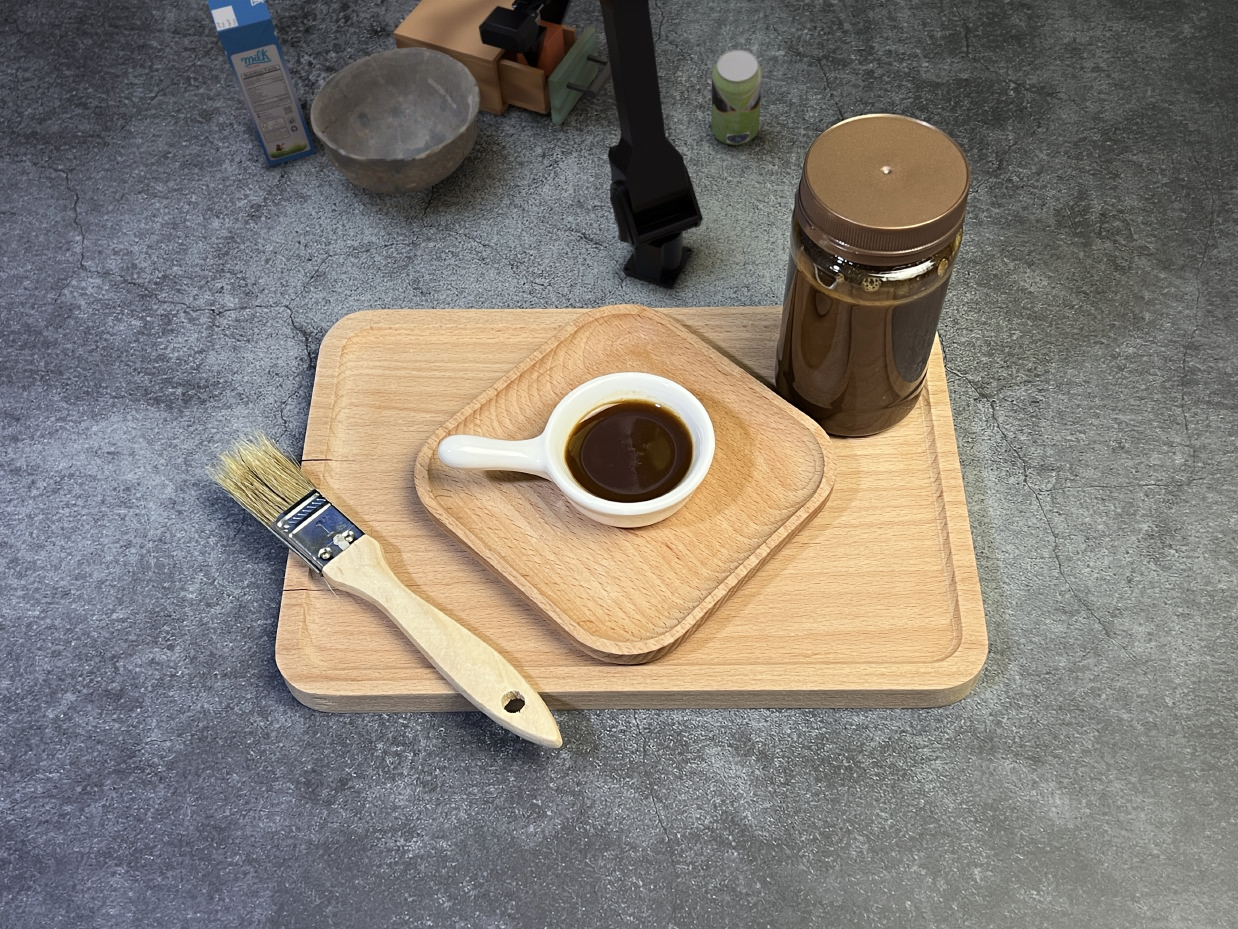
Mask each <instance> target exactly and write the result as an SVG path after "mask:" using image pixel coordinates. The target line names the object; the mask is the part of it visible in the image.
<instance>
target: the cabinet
mask: <svg viewBox="0 0 1238 929" xmlns="http://www.w3.org/2000/svg"><path fill="white" fill-rule="evenodd" d="M514 1H515V0H421V1H419V3H418V4H417V5H416V6H415V7H414V9H413V10H412V11H411V12H410V13H409V14H408V15H407V16H406V18H405V19H404V20H403V21H402V22H401V23H400V24H399V25H398V27H397V28H396V29H395V30H394V31H393V36H394V42H395V46H396V49H400V48H415V47H417V48H427V49H430V50H434V51H438V52H441V53H444V54H447V55H449V56H450V57H452V58H453V59H455V60H457V61H459V62H460V63H462V64H463V65H464V66H466V67H467V68H468V70H469V71H470V73H471V74H472V75H473V76H474V78H475V79H476V81H477V83H478V88H479V90H480V96H481V103H480V109H479V111H484V112H488V113H491V114H494V115H498V116H502V114H503V113H504V112H505V111H506V109H507V108H508V107H509V106H510V104H509V103H506V102H502V100H501V93H500V86H499V79H498V72H497V65H496V62H497V60H498V59H499V58H500V57H501V55H502V54H503V53H504V52H505V50H504V49H500V48H496V47H493V46H489V45H486V44H482V42H481V39H480V32H479V25H480V24H481V23H482V22H483V21H484V20H485V18H486V17H487V16H488V15H489V14H490V12H491V11H492V10H493V9H494V8H496V7H497V6H501V7H504V8H508V9H512V10H514V8H512V6H511V5H512V3H513V2H514ZM538 14H539V12H538ZM539 15H540V14H539ZM539 18H540V16H539Z"/></svg>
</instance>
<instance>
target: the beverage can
mask: <svg viewBox="0 0 1238 929" xmlns="http://www.w3.org/2000/svg"><path fill="white" fill-rule="evenodd" d="M762 82H763V70H762V67H761V65H760V62H758V59H757V58H756V56H755V55H754V54H753V53H752V52H750V51H747V50H744V49H733V50H728V51H726V52H725V53H723V54H721V56H719V58H718V59H717V61H716V63H715V65H714V66H713V69H712V72H711V131H712V133H713V135H714V137H715V138H716V139H717V140H718V141H720V142H721V143H724V144H727V145H732V146H733V145H734V146H736V145H738V146H739V145H742V144H746V143H748V142H750V141H751V140H753V139H754V137H755V136H757V133H758V131H759V129H760V128H759V127H760V113H761V98H762V86H763V84H762Z"/></svg>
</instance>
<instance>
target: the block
mask: <svg viewBox="0 0 1238 929" xmlns="http://www.w3.org/2000/svg"><path fill="white" fill-rule="evenodd" d="M538 22H539V25H542V26H545V27H547V32H546V36H545V40H544V44H543V48H542V52H541V56H540V60H539V63H538V66H537V67H536V69H540V70H543V71H544V75H548V76H550V74H551V73H552V72H553V70H554V69H555V68H556V66H557V65H558V64H559V62H560V61H561V60H562V58H563V57H564V56H565V53H564V41H563V29H562V25H558V24H554V23H551V22H547V21H543V20H540V19H538ZM517 58H518V63H519V64H522V65H526V66H529V65H528V63H527V61H526V59H525V58H524V56H523V54H522V53H521V54H518V53H517ZM529 67H531V66H529ZM533 68H535V67H533Z"/></svg>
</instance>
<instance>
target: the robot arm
mask: <svg viewBox="0 0 1238 929" xmlns="http://www.w3.org/2000/svg"><path fill="white" fill-rule="evenodd" d="M598 1H599V4H600V9H601V10H600V11H601V16H602V22H603V28H604V34H605V42H606V47H607V54H608V60H609V61H610V68H611V74H612V76H611V79H612V80H611V81H612V87H613V93H614V99H615V106H616V111H617V118H618V119H617V120H618V125H619V131H620V138H619V140H618V143H617V144H615V145H612V146H610V147H609V149H608V152H607V158H608V163H609V168H610V180H611V182H610V185H609V195H610V197H609V201H610V205H611V208H612V212H613V216H614V221H615V223H616V226H617V231H618V232H617V233H618V239H619V240H620V242H621V243H626V244H628V245H629V246H630V247H631V249H632V250H633V251H632V253H631V254H630V256H629V258H628V260H627V261H626V263H625V265H624V266H623V267H622V272H623V274H624V275H625V276H630V277H632V278H636V279H639V280H641V281H645V282H648V283H651V284H654V285H657V286H659V287H663V288H666V289H670V290H672V289H673V288H674V287H675V286H676V284H677V283H678V281H679V280H680V278H681V276H682V274H683V272H684V271H685V268H686V267H687V265H688V263H689V262H690V260H691V259H692V257H693V254H694V250H693V249H692V248H691V247H688V246H685V245H684V232H687V231H689V230H691V229H696V228H699V227H701V224H702V222H703V220H704V218H703V214H702V210H701V208H700V204H699V201H698V197H697V195H696V191H695V188H694V185H693V183H692V179H691V176H690V173H689V170H688V167H687V165H686V164H685V160H684V156H683V154H681V152H680V151H679V150H678V149H677V148H676V147H675V145H674V144H673V143H672V142H671V141H670V140H669V139H668V137H667V135H666V128H665V121H664V113H663V105H662V97H661V89H660V82H659V75H658V67H657V58H656V51H655V50H656V49H655V44H654V36H653V35H654V34H653V27H652V19H651V11H650V0H598ZM572 3H573V0H515V1H514V2H513V3H512V5H511V6H512V8H514V10H512V9H508V8H504V7H501V6H497V7H496V8H494V9H493V10H492V11H491V12H490V14H489V15H488V16H487V17H486V18H485V20H484V21H483V22H482V23H481V24H480V25H479V32H480V39H481V42H482V44H486V45H489V46H493V47H496V48H500V49H504V50H507V51H511V52H514V53H518V54H521V53H522V54H523V56H524V58H525V59H526V61H527V63H528V65H529V66H531V67H535V68H536V67H537V66H538V63H539V60H540V56H541V52H542V48H543V44H544V40H545V36H546V32H547V27H545V26H542V25H539V22H538V19H539V17H540V19H541V20H543V21H547V22H551V23H554V24H558V25H562V24H563V25H564V22H565V19H566V16H567V14H568V12H569V10H570V8H571V5H572ZM538 12H539V14H538Z"/></svg>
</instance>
